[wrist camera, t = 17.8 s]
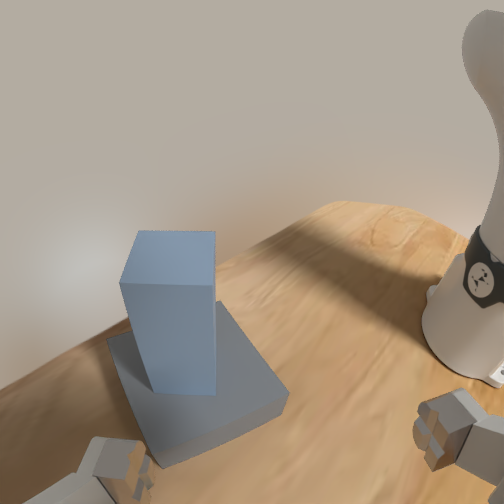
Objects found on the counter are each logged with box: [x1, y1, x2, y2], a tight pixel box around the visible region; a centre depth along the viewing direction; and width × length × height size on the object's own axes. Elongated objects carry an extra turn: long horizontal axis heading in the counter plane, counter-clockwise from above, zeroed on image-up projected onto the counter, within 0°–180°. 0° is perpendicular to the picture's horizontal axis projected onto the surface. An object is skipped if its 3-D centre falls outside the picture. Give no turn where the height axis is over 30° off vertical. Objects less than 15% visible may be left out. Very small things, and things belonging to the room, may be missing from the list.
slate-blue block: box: [119, 231, 216, 396], centre depth 22 cm, size 5×5×12 cm
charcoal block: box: [106, 301, 290, 469], centre depth 27 cm, size 12×12×5 cm
